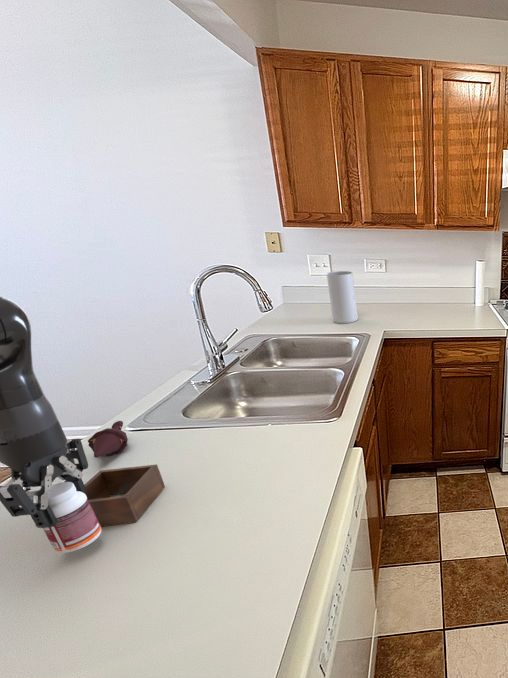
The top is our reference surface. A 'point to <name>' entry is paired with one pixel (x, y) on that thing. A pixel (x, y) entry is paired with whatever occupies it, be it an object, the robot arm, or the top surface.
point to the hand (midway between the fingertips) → (64, 510)
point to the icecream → (109, 441)
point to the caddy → (131, 481)
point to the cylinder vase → (342, 296)
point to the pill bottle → (71, 519)
